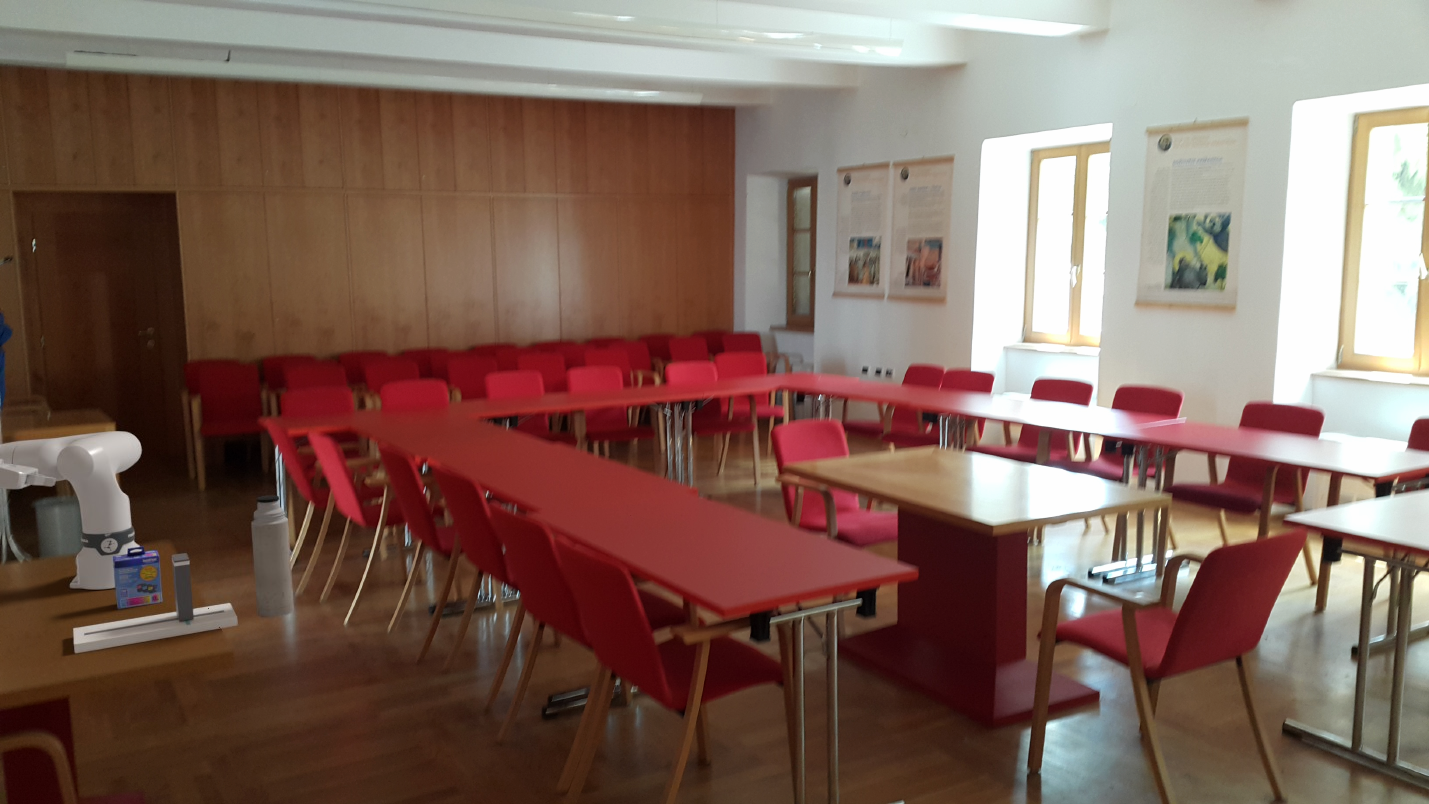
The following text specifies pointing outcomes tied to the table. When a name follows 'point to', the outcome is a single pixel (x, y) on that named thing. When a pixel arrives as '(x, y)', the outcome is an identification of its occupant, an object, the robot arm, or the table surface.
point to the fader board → (152, 628)
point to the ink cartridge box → (137, 578)
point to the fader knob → (182, 587)
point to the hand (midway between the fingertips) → (54, 482)
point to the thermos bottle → (272, 559)
